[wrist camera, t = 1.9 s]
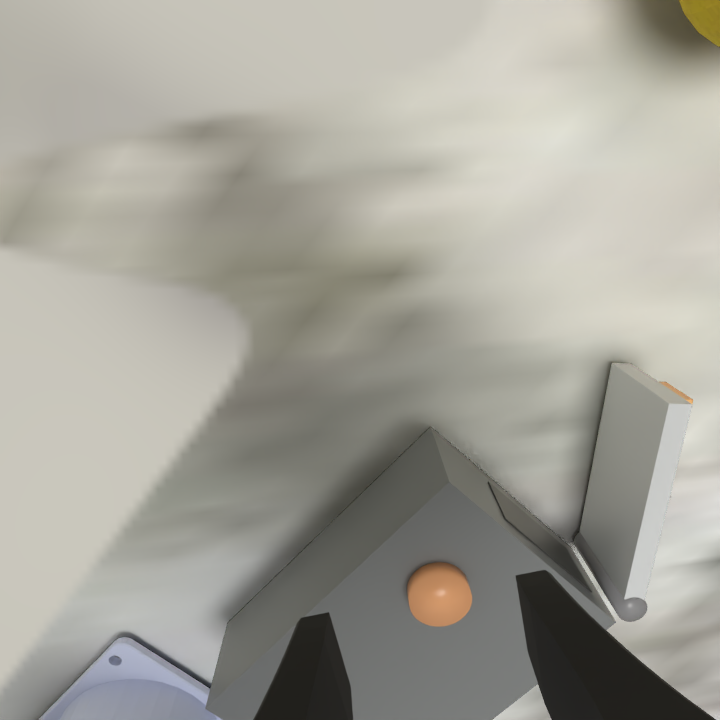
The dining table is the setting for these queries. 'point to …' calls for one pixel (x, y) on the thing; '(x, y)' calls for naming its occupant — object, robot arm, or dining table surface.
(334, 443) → the dining table surface
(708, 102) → the dining table surface
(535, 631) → the robot arm
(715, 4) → the lemon
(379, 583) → the case
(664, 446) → the door
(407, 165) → the dining table surface
